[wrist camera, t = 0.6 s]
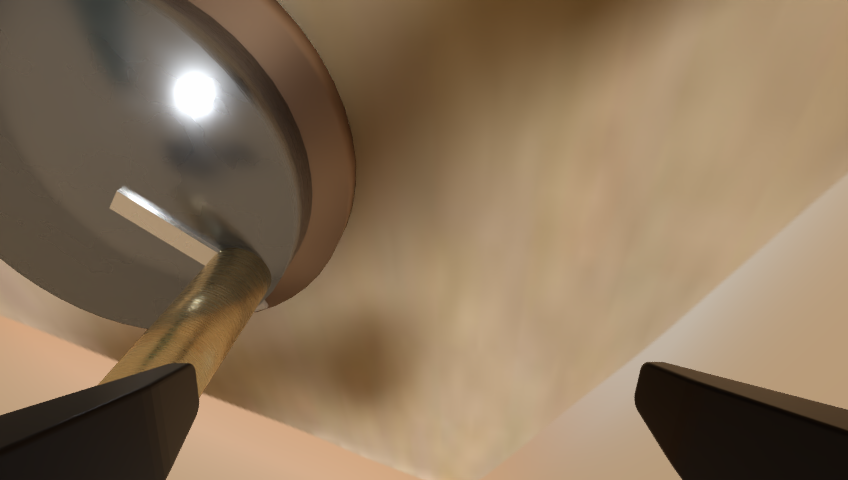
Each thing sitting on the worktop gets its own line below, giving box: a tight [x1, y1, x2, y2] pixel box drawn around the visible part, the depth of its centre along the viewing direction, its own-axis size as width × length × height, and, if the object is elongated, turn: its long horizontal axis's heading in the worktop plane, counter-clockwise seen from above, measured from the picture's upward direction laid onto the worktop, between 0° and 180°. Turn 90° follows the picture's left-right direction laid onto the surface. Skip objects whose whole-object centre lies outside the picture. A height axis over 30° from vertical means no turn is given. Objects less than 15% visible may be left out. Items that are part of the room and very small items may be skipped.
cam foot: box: [0, 0, 313, 397], centre depth 15 cm, size 15×15×10 cm
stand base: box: [188, 0, 356, 313], centre depth 20 cm, size 18×18×2 cm
